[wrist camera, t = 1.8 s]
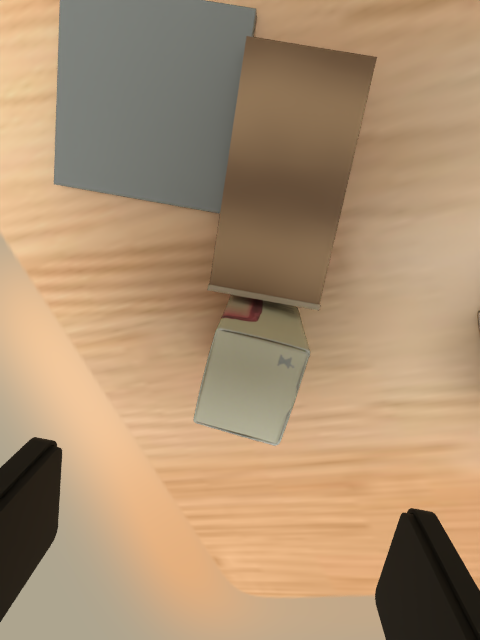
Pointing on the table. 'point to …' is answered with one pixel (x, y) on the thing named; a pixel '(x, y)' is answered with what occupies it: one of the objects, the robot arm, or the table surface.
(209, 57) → the slate pad
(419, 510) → the robot arm
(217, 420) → the small box
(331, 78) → the bronze rectangular slab
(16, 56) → the table surface
